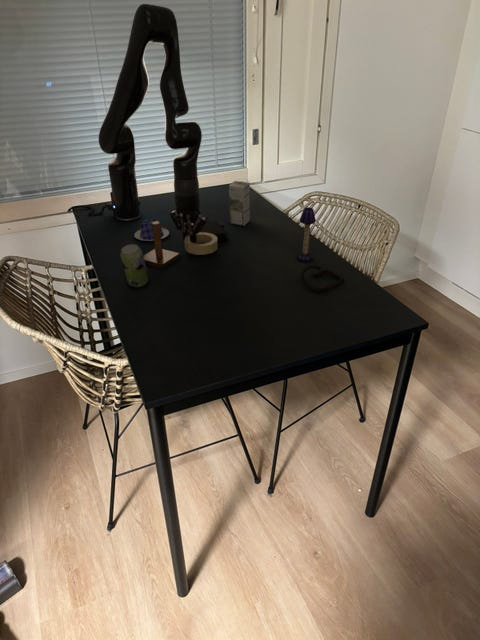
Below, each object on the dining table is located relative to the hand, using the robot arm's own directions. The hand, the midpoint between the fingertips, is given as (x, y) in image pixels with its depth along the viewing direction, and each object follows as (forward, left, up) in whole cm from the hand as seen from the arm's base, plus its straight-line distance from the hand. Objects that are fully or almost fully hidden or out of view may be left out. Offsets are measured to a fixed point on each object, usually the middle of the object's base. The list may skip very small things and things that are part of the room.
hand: (189, 243), depth 161 cm
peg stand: (-4, -11, -2) cm, 12 cm away
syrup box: (+3, +28, -3) cm, 28 cm away
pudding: (-18, +3, -3) cm, 19 cm away
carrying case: (0, +13, -3) cm, 13 cm away
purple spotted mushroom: (+36, +11, -3) cm, 38 cm away
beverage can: (0, -27, -3) cm, 27 cm away
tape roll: (+4, 0, -1) cm, 4 cm away
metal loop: (+46, -1, -3) cm, 46 cm away
